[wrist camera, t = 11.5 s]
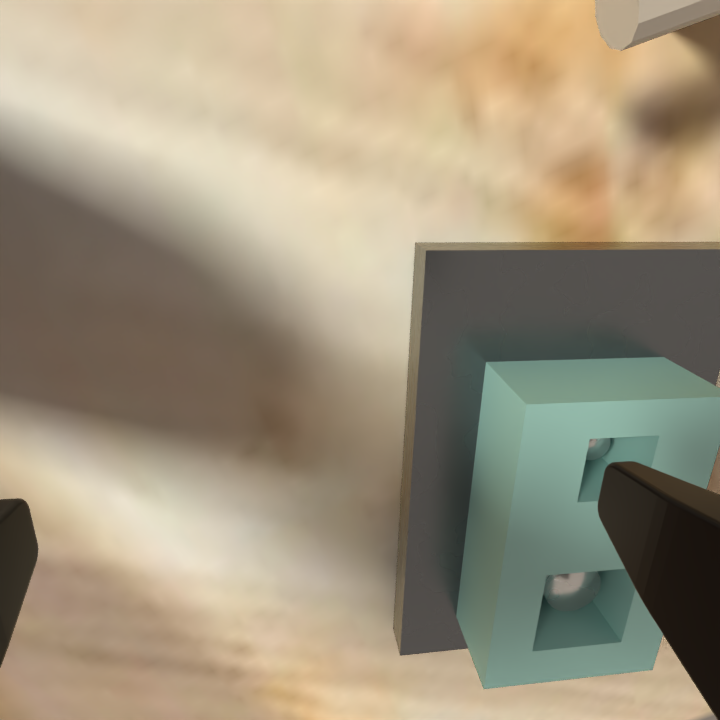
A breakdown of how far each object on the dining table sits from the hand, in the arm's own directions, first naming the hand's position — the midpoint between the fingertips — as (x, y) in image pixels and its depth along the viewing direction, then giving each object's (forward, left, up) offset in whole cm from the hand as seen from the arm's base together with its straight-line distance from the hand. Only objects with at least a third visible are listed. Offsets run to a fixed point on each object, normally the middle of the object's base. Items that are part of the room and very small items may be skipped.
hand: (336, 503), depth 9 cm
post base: (+10, -7, -12) cm, 17 cm away
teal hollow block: (+10, -8, -10) cm, 17 cm away
